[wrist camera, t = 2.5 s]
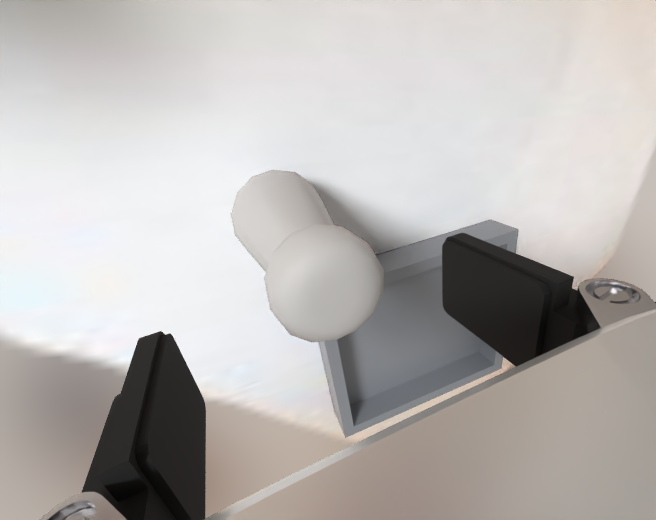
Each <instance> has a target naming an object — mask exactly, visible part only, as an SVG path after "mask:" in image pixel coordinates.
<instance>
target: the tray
mask: <svg viewBox="0 0 656 520" xmlns="http://www.w3.org/2000/svg"><path fill="white" fill-rule="evenodd" d="M459 233H466V234H468V235H471V236H473V237H476V238H478V239H481V240H483V241H486V242H488V243H491V244H493V245H496V246H498V247H501V248H503V249H506V250H508V251H511V252H513V253H516V245H517V237H518V229H516V228H513V227H510V226H507V225H504V224H502V223H499V222H496V221H493V220H488V221H484V222H481V223H478V224H475V225H472V226H468V227H465V228H462V229H459V230H456V231H452V232H449V233H446V234H443V235H440V236H436V237H433V238H430V239H427V240H423V241H420V242H417V243H414V244H411V245H407V246H404V247H401V248H398V249H395V250H391V251H388V252H385V253H382V254H379V255H376V257H377V259H378V260H379V262H380V264H381V266H382V268H383V270H384V283H383V294H382V296H381V298H380V301H379V303H378V305H377V307H376V309H375V312H374V314H373V315H372V316H370V317H369V318H368V319H367V320H366V321H365V322H364V323H363V324H362V325H361V326H360V327H359V328H358V329H357V330H356V331H354V332H352V333H349V334H347V335H345V336H343V337H341V338H339V339H337V340H335V341H321V342H319V346H320V351H321V355H322V359H323V364H324V368H325V372H326V377H327V381H328V385H329V390H330V394H331V398H332V403H333V407H334V412H335V414H336V416H337V419H338V421H339V424H340V426H341V428H342V431H343V433H344V435H345V438H346V437H348V436H350V435H353V434H355V433H357V432H359V431H362V430H364V429H366V428H368V427H371V426H373V425H375V424H377V423H380V422H382V421H384V420H386V419H389V418H391V417H393V416H395V415H398V414H400V413H402V412H404V411H407V410H409V409H411V408H413V407H416V406H418V405H420V404H422V403H425V402H427V401H429V400H431V399H434V398H436V397H438V396H440V395H443V394H445V393H447V392H449V391H452V390H454V389H456V388H458V387H461V386H463V385H465V384H467V383H470V382H472V381H474V380H476V379H479V378H481V377H483V376H485V375H488V374H490V373H492V372H494V371H497V370H499V369H501V368H502V360H503V356H502V355H501V354H499V353H498V352H497V351H495V350H494V349H493V348H491V347H490V346H489V345H488V344H486V343H485V342H484V341H482V340H481V339H480V338H478V337H477V336H476V335H474V334H473V333H472V332H471V331H469V330H468V329H467V328H465V327H464V326H463V325H461V324H460V323H459V322H458V321H456V320H455V319H454V318H452V317H451V316H450V315H448V314H447V313H446V312H445V310H444V308H443V304H442V245H443V243H444V242H445V240H446V238H447V237H450V236H453V235H456V234H459Z"/></svg>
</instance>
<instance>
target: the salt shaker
mask: <svg viewBox="0 0 656 520" xmlns="http://www.w3.org/2000/svg"><path fill="white" fill-rule="evenodd" d="M231 217H232V222H233V227H234V232H235V236H236V237H237V238H238V239H239V241H240V242H241V243H242V245H243V246H244V247H245V248H246V250H247V251H248V252H249V253H250V254H251V255H252V257H253V258H254V259H255V260H256V261H257V262H258V263H259V265H260V266H261V267H262V268H263V269H264V270H265V271H266V274H265V277H264V279H265V284H266V290H267V295H268V301H269V305H270V309H271V311H272V312H273V314H274V315H275V316H276V318H277V319H278V320H279V321H280V323H281V324H282V325H283V326H284V327H285V329H286V330H287V331H288V332H289V334H290V335H293V336H295V337H298V338H301V339H304V340H307V341H310V342H321V341H335V340H337V339H339V338H341V337H343V336H345V335H347V334H349V333H352V332H354V331H356V330H357V329H358V328H359V327H360V326H361V325H362V324H363V323H364V322H365V321H366V320H367V319H368V318H369V317H370V316H372V315H373V314H374V312H375V309H376V307H377V305H378V303H379V301H380V298H381V296H382V294H383V283H384V270H383V268H382V266H381V264H380V262H379V260H378V259H377V257H376V255H375V253H374V251H373V250H372V248H371V247H370V245H369V244H368V243H367V242H366V241H364V240H363V239H361V238H360V237H358V236H356V235H355V234H353V233H352V232H350V231H349V230H347V229H345V228H344V227H342V226H336V225H334V223H333V221H332V219H331V217H330V215H329V213H328V211H327V209H326V207H325V205H324V203H323V201H322V199H321V198H320V196H319V194H318V193H317V191H316V189H315V188H314V186H313V184H312V183H310V182H309V181H307V180H306V179H304V178H303V177H301V176H300V175H299V174H297V173H296V172H289V171H279V170H271V171H268V172H265V173H262V174H259V175H256V176H253V177H252V178H251V179H250V180H249V181H248V182H247V183H246V184H245V185H244V186H243V187H242V188H241V189H240V190H239V191H238V192H237V195H236V199H235V202H234V206H233V209H232V212H231Z"/></svg>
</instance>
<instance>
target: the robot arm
mask: <svg viewBox="0 0 656 520" xmlns="http://www.w3.org/2000/svg"><path fill="white" fill-rule="evenodd" d="M573 278H574V277H573V276H570V275H568V274H565V273H563V272H560V271H558V270H555V269H553V268H550V267H548V266H545V265H543V264H540V263H538V262H535V261H533V260H530V259H528V258H525V257H523V256H520V255H518V254H516V253H513V252H511V251H508V250H506V249H503V248H501V247H498V246H496V245H493V244H491V243H488V242H486V241H483V240H481V239H478V238H476V237H473V236H471V235H468V234H466V233H459V234H456V235H453V236H450V237H447V238H446V240H445V242H444V243H443V245H442V304H443V308H444V310H445V312H446V313H447V314H448V315H450V316H451V317H452V318H454V319H455V320H456V321H458V322H459V323H460V324H461V325H463V326H464V327H465V328H467V329H468V330H469V331H471V332H472V333H473V334H474V335H476V336H477V337H478V338H480V339H481V340H482V341H484V342H485V343H486V344H488V345H489V346H490V347H491V348H493V349H494V350H495V351H497V352H498V353H499V354H501V355H502V356H503V357H504V358H506V359H507V360H508V361H510V362H511V363H512V364H514V365H515V366H516V367H515V368H512V369H510V370H508V371H506V372H504V373H502V374H500V375H498V376H495V377H493V378H491V379H489V380H487V381H485V382H483V383H481V384H479V385H476V386H474V387H472V388H470V389H468V390H466V391H464V392H462V393H460V394H457V395H455V396H453V397H451V398H449V399H447V400H445V401H443V402H441V403H439V404H436V405H434V406H432V407H430V408H428V409H426V410H424V411H422V412H420V413H418V414H416V415H413V416H411V417H409V418H407V419H405V420H403V421H401V422H399V423H397V424H395V425H393V426H390V427H388V428H386V429H384V430H382V431H380V432H378V433H376V434H374V435H372V436H370V437H368V438H366V439H364V440H362V441H359V442H357V443H355V444H353V445H351V446H349V447H347V448H345V449H343V450H341V451H339V452H337V453H335V454H333V455H331V456H328V457H327V458H324V459H322V460H320V461H318V462H316V463H314V464H312V465H310V466H308V467H306V468H304V469H302V470H300V471H297V472H296V473H293V474H292V475H290V476H288V477H286V478H284V479H282V480H280V481H278V482H276V483H274V484H272V485H270V486H268V487H266V488H264V489H262V490H260V491H258V492H256V493H254V494H252V495H250V496H248V497H246V498H244V499H242V500H240V501H238V502H236V503H234V504H232V505H230V506H228V507H226V508H224V509H222V510H220V511H219V512H217V513H215V514H213V515H211V516H210V517H208V518H206V519H205V442H206V439H205V437H206V431H205V430H206V410H205V402H204V399H203V397H202V395H201V393H200V391H199V389H198V386H197V384H196V382H195V380H194V378H193V376H192V374H191V372H190V370H189V368H188V366H187V364H186V362H185V360H184V358H183V356H182V354H181V352H180V350H179V348H178V346H177V344H176V342H175V340H174V338H173V336H172V335H171V334H167V335H165V334H164V333H163V332H161V331H160V332H157V333H154V334H151V335H148V336H145V337H142V338H139V340H138V342H137V345H136V348H135V351H134V355H133V358H132V361H131V364H130V367H129V370H128V373H127V376H126V379H125V382H124V385H123V388H122V391H121V394H119V395H117V396H116V397H115V399H114V401H113V403H112V406H111V409H110V412H109V415H108V417H107V420H106V423H105V426H104V429H103V432H102V435H101V438H100V441H99V444H98V446H97V449H96V452H95V455H94V458H93V461H92V464H91V467H90V470H89V473H88V475H87V478H86V481H85V484H84V487H83V490H82V493H80V494H77V495H75V496H72V497H70V498H68V499H66V500H65V501H63V502H61V503H59V504H58V505H56V506H55V507H54V508H53V509H51V510H50V511H49V512H48V513H47V514H45V515H44V516H43V517H42V518H41V519H40V520H656V302H654V301H653V300H652V299H651V298H650V296H649V295H648V294H647V293H646V292H644V291H643V290H642V289H640V288H638V287H636V286H634V285H632V284H629V283H626V282H623V281H618V280H614V279H604V278H597V279H589V280H585V281H583V282H581V283H580V285H579V286H578V291H577V290H574V289H572V283H573Z"/></svg>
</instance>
